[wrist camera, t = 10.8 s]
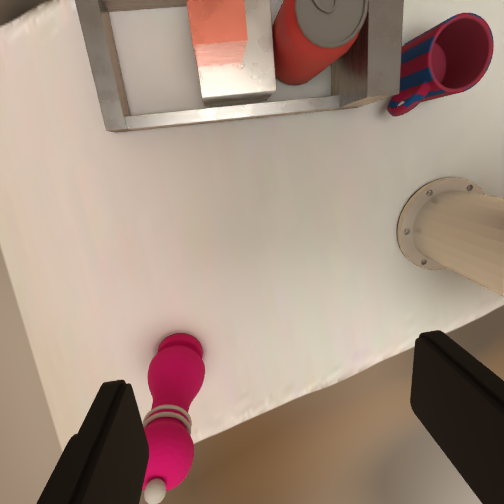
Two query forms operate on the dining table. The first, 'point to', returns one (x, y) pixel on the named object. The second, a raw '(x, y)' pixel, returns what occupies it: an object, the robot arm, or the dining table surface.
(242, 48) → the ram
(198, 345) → the pepper mill
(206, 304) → the dining table surface
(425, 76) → the mug
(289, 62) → the beer can
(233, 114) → the press frame
